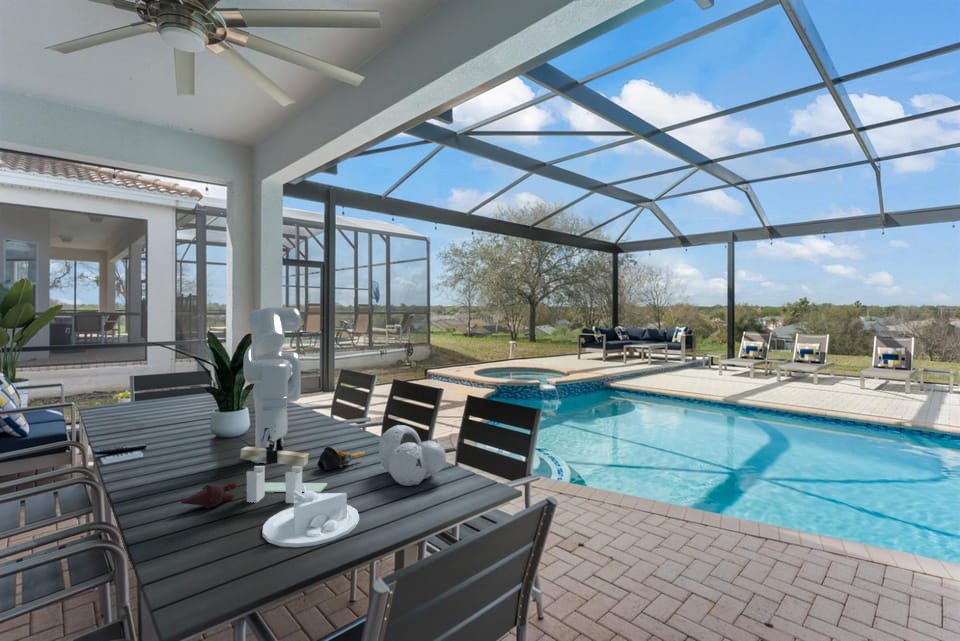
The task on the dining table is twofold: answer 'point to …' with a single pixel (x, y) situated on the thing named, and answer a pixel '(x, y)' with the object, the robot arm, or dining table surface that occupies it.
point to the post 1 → (255, 484)
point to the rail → (282, 456)
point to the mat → (282, 487)
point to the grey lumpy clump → (409, 455)
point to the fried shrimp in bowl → (335, 459)
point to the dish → (311, 520)
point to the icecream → (211, 495)
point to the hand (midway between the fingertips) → (274, 460)
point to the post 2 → (293, 483)
